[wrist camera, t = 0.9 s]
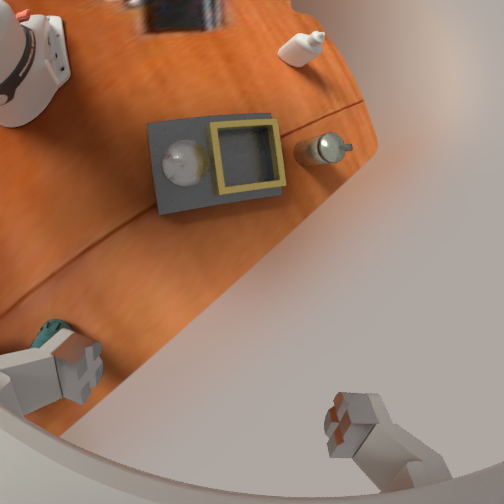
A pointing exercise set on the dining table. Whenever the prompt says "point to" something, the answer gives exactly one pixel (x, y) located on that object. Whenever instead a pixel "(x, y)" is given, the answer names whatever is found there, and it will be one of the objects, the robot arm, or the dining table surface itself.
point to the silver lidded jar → (321, 150)
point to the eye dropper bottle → (302, 49)
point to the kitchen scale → (214, 160)
